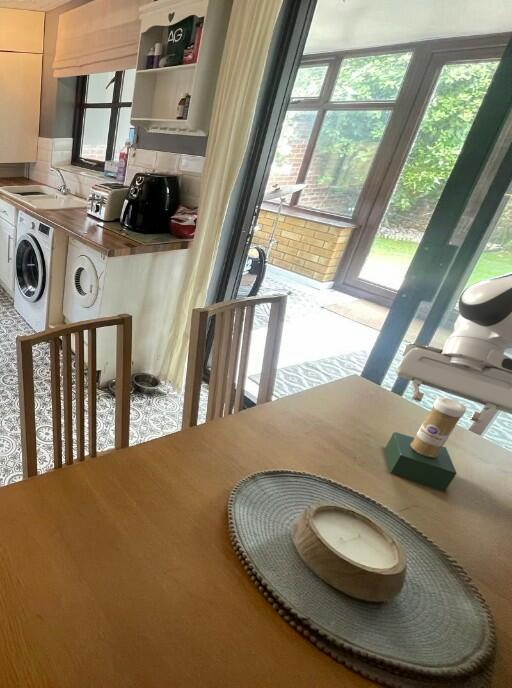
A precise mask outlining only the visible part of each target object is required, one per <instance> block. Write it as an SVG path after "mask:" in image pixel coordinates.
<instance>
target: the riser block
mask: <svg viewBox="0 0 512 688" xmlns="http://www.w3.org/2000/svg"><path fill="white" fill-rule="evenodd" d="M414 439H415V437H413V436H410V435H406V434H403V433H400V432H397V431H393V433H392V434H391V437H390V439H389V440H388V442H387V444H386V445H385V448H384V451H385V455H386V458H387V463H388V467H389V472H390V473H391V474H393V475H395V476H398V477H400V478H404V479H408V480H410V481H413V482H415V483H419V484H422V485H425V486H427V487H430V488H432V489H433V488H434V489H436V490H438V491H441V492H446V490H447V489H448V488H449V486H450V484H451V483H452V482H453V480H454V478H455V477H456V476H457V470H456V468H455V466H454V463H453V461H452V459H451V456H450V454H449V452H448V449H447V447H446V446H444V445H443V446H442V448H441V449H440V451H439V452H438V456H437V457H427V456H424V455H421V454H419V453H417V452H416V451H415V450H413V449H412V447H411V443H412V442H413V440H414Z"/></svg>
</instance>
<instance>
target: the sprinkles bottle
mask: <svg viewBox="0 0 512 688" xmlns="http://www.w3.org/2000/svg"><path fill="white" fill-rule="evenodd" d="M466 411H467V407H466V406H465V405H464V404H463V403H461V402H459V401H457V400H455V399H453V398H448V397H442V396H441V397H436V399H435V400H434V402H433V404H432V408H431V409H430V411H429V413H428V415H427V416H426V418H425V420H424V421H423V423H421V425H420V428H419V429H418V430H417V433H416V435H415V437H414V438H415V439H414V440H413V442H412V443H411V447H412V449H413V450H415V451H416V452H417V453H419V454H421V455H424V456H427V457H437V456H438V452H439V451H440V449H441V448H442V446H443V447H444V445H445V444H446V442H447V440H448V439H449V437H450V435H451V434H452V432H453V431H454V429H455V427H456V425H457V424H458V422H459V420H460V419H462V417H463V416H464V415H465V413H466Z"/></svg>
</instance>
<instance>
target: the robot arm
mask: <svg viewBox="0 0 512 688" xmlns="http://www.w3.org/2000/svg"><path fill="white" fill-rule="evenodd" d="M458 312H459V315H458V316H457V318H456V320H455V323H454V324H453V331H452V333H451V334H450V335H449V336H448V337H447V339H446V341H445V343H444V345H443V347H442V349H441V348H438V347H434V346H429V345H426V344H423V343H420V342H416V343H408V344H406V345H405V346H404V348H403V350H402V356H403V357H402V359H401V360H400V362H399V363H398V365H397V367H396V368H395V374H396V376H397V377H399V378H402V379H404V380H407V381H411V384H410V386H411V389H412V393H413V395H412V397H411V400H413V401H415V402H419V403H421V401H422V399H423V397H424V396H425V393H424V392H421V391H420V387H421V385H423V386H426V387H428V388H432V389H435V390H438V391H441V392H444V393H447V394H450V395H453V396H455V397H459V398H462V399H464V400H468V401H470V402H474V403H477V404H479V405H482V406H483V408H482V410H483V411H481V412H478V411H473V412H472V413H471V415H470V417H469V421H471V422H474V423H476V424H481V422H482V421H483V420H484V417H485V416H488V415H490V414H492V413H494V412H495V411H496V410H498V411H501V412H504V413H506V414H510V415H512V357H510V356H508V355H507V354H505V351H506V350H508V349H512V272H509V273H506V274H503V275H499V276H498V275H497V276H495V277H490V278H486V279H484V280H481V281H478V282H476V283H473V284H471V285H470V286H468V287H467V288H465V289H463V291H462V293H461V295H460V296H459V299H458Z"/></svg>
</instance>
